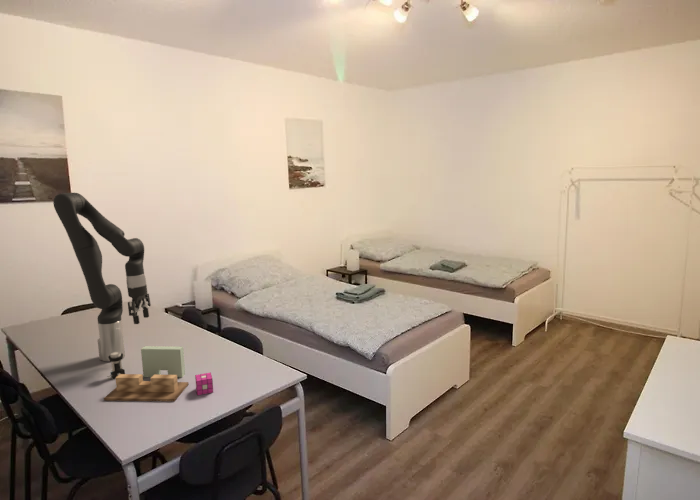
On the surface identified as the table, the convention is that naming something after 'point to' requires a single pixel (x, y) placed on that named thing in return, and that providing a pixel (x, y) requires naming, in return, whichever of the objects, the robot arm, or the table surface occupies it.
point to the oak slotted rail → (146, 388)
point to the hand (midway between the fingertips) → (141, 320)
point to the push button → (116, 364)
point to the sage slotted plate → (162, 360)
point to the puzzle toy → (204, 383)
